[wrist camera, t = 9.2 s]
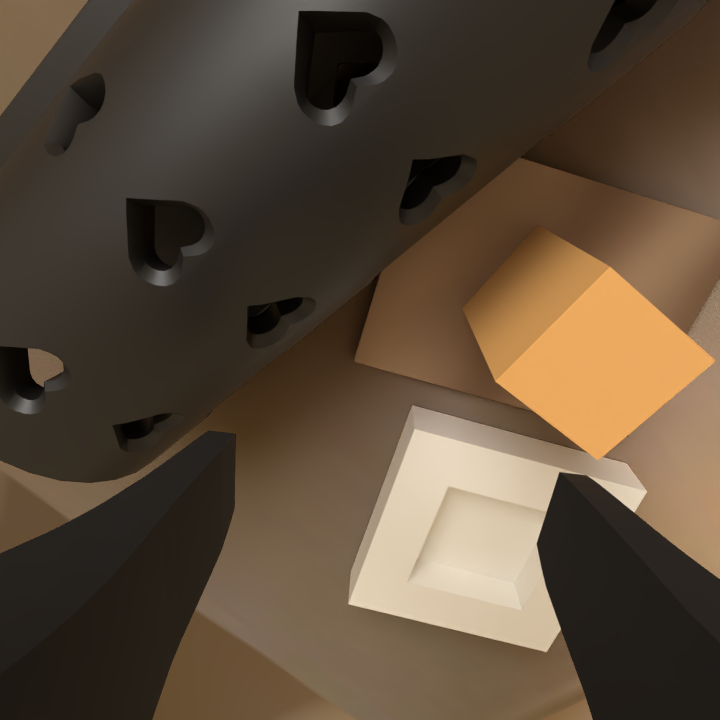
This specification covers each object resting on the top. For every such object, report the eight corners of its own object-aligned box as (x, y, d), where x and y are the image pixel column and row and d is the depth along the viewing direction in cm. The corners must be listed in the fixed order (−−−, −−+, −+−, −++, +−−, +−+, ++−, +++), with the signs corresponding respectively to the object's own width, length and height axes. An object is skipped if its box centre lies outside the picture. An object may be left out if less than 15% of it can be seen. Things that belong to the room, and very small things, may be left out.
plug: (614, 292, 19) (715, 360, 14) (536, 367, 21) (597, 460, 15) (537, 224, 19) (610, 266, 13) (462, 308, 20) (495, 381, 14)
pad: (737, 226, 19) (747, 228, 18) (621, 429, 22) (627, 437, 22) (423, 128, 18) (425, 128, 18) (354, 355, 22) (353, 361, 21)
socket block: (626, 463, 23) (647, 491, 21) (535, 617, 27) (546, 652, 25) (412, 405, 22) (414, 429, 21) (350, 571, 26) (348, 604, 24)
